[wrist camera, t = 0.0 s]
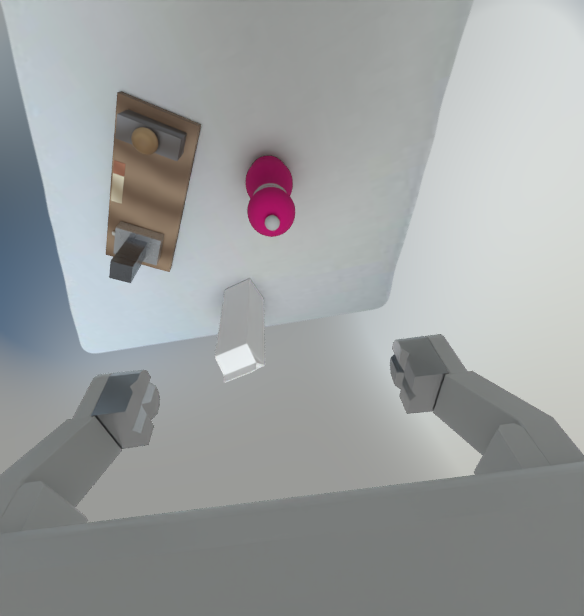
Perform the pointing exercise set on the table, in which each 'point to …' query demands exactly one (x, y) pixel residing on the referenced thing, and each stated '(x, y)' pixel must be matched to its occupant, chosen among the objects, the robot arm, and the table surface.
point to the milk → (241, 331)
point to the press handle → (133, 250)
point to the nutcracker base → (150, 171)
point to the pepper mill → (270, 196)
